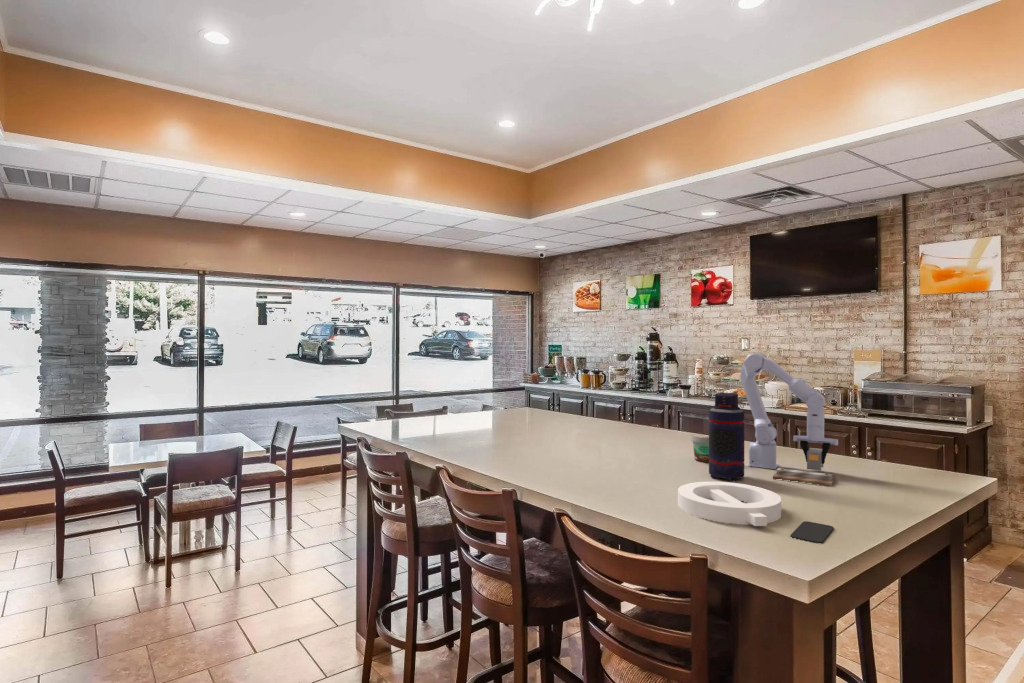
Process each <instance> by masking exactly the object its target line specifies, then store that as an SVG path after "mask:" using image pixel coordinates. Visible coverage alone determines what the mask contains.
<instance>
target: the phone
mask: <svg viewBox="0 0 1024 683" xmlns="http://www.w3.org/2000/svg"><path fill="white" fill-rule="evenodd" d="M834 529H835V527H834V526H833V525H829V524H825V523H818V522H817V523H816V522H812V521H808V520H805V521H802V522H801V523H800V524H799V525H798V526H797V527H796V529H794V530H793V532H791V533H790V538H791V537H792V539H794V538H796V539H795V540H798V539H800V540H799V541H803V540H804V541H805V542H808V541H809V543H814V544H818V543H822V544H824V542H825V541H826V540H827V539H828V538H829V536H830V535H831V534H832V532H833V531H834ZM826 538H827V539H826Z"/></svg>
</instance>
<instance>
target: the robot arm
mask: <svg viewBox="0 0 1024 683" xmlns="http://www.w3.org/2000/svg"><path fill="white" fill-rule="evenodd" d="M760 371H765V372H766V371H767V372H771V373H772V374H774V375H775V376H776V377H777V378H778V379H780V380H781V381H783V382H784V383H785V384H787V385H788V391H790V393H792V394H793V395H795V396H796V397H797V398H798V399H800V400H801V401H802V402H805V405H806V406H807V412H806V435H793V439H792V441H793V442H800V443H799V444H800V447H801V449H802V451H803V453H804V457H805V462H806V463H807V451H808V450H809V449H810V443H813V444H822V445H821V449H822V464H823V465H825V462H826V457H827V454H828V452H829V449H831V446H832V445H833V446H839V439H838V438H829V437H825V407H824V406H825V404H826V399H825V396H824V395H823V394H822V393H820V392H818V390H817V389H816V388H815V389H813V388H812V387H811V386H810V385H809V384H807V380H805V379H801V378H794V377H793V376H792V374H790V373H789V372H788V371H786V370H785V369H784V368H783V367H782V366H780V365H779V363H777V362H775V361H774V359H772V358H770V357H769V356H766V354H764V353H763V352H756V353H755V352H753V353H749V354H748V355H747V356H746V357H745V359H744V360H743V361H742V367H741V371H740V375H739V377H740V378H739V379H740V381H741V385H742V387H743V390H744V393H745V396H746V399H747V403H748V405H749V408H750V411H751V414H752V417H753V421H754V425H753V426H754V429H755V433H754V437H755V440H756V441H755V442H754V441H753V442H750V443H749V449H748V451H749V452H748V454H749V455H748V459H749V462H748V463H749V464H748V467H755V468H761V469H763V468H764V469H770V470H777V469H778V468H779V466H780V464H779V463H777V442H776V441H775V439H776V438H777V436H778V431H777V429H776V427H775V426H774V425H773V424H772V421H771V419H770V418H769V416H768V414H767V411H766V408H765V405H764V402H763V399H762V396H761V393H760V391H759V386H758V383H757V381H756V377H757V376H758V374H759V372H760Z"/></svg>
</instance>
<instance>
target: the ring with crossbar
mask: <svg viewBox="0 0 1024 683" xmlns="http://www.w3.org/2000/svg"><path fill="white" fill-rule="evenodd" d="M741 501H744V502H741ZM745 502H747V503H745ZM678 506H679V507H680V508H681V509H682V510H684V511H685V512H687V513H689V514H692V515H694V516H693V517H695V516H697V517H696V518H698V517H701V518H704V519H703V520H705V519H708V520H707V521H710V520H713V521H712V522H715V521H718V522H717V523H721V522H725V523H724V524H729V523H737V524H736V525H752V526H754V527H767V526H768V523H769V522H770V523H773V522H776V521H778V520H779V519H781V517H782V497H781V496H780V495H779V494H777V492H776V493H775V492H774V491H771V490H769V489H765V488H763V487H760V486H759V487H758V486H754V485H752V484H751V485H750V484H745V483H738V482H737V483H736V482H731V481H730V482H728V481H697V482H691V483H685V484H682V485H680V486H679V487H678V489H677V507H678ZM679 507H678V508H679ZM680 508H679V509H680ZM681 509H680V510H681ZM682 510H681V511H682ZM685 512H684V513H685ZM687 513H686V514H687ZM689 514H688V515H689ZM692 515H691V516H692ZM701 518H700V519H701ZM775 520H776V521H775ZM739 523H740V524H739Z"/></svg>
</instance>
